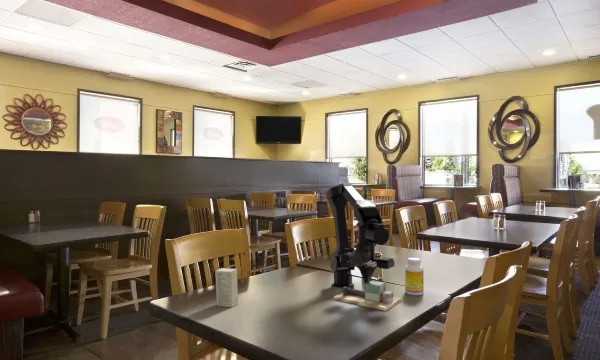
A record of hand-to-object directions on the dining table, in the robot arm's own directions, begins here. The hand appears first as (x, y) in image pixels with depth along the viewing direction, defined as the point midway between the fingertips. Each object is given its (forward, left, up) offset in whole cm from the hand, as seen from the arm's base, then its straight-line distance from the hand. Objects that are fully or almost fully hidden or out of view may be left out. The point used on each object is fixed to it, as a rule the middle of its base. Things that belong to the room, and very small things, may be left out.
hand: (366, 284), depth 138 cm
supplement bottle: (+10, +18, -6) cm, 21 cm away
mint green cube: (+3, 0, -4) cm, 5 cm away
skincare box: (-36, -33, -6) cm, 49 cm away
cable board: (0, 0, -6) cm, 6 cm away
